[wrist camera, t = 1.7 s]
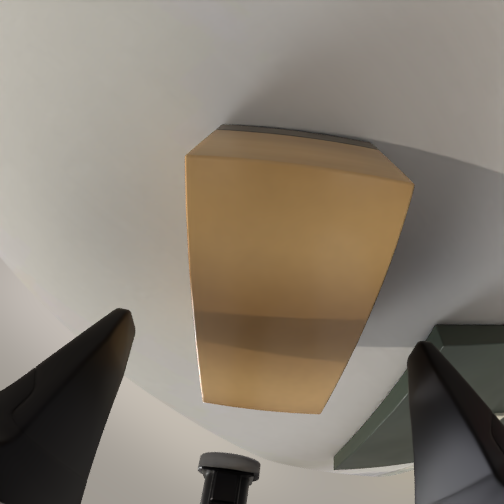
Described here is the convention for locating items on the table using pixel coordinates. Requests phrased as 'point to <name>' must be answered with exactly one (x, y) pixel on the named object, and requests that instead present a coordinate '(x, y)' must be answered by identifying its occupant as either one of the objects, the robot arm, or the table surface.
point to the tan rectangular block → (285, 260)
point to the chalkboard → (397, 402)
